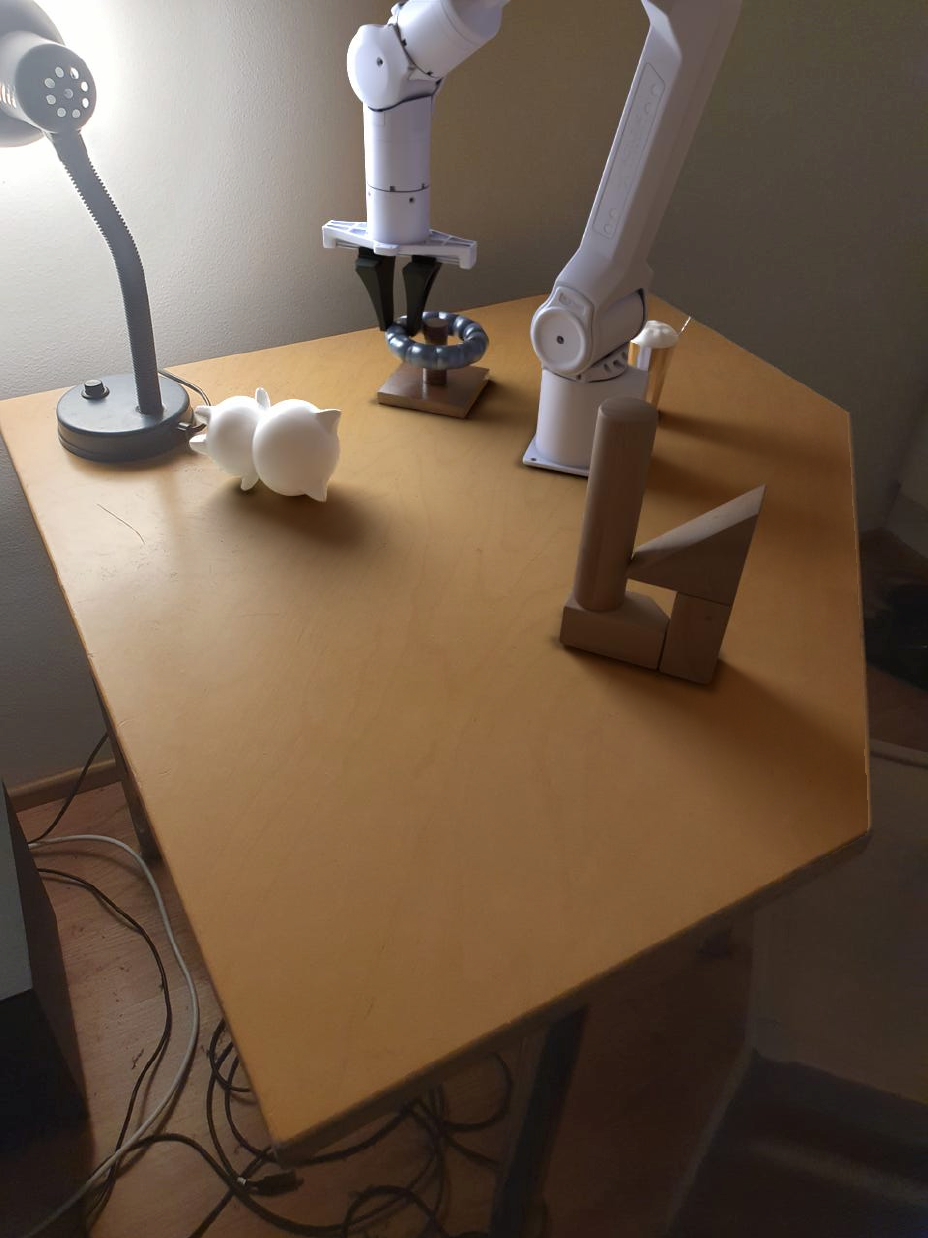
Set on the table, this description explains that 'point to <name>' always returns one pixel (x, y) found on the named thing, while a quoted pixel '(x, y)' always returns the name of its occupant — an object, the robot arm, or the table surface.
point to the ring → (439, 355)
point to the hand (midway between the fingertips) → (400, 329)
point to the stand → (434, 381)
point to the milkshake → (654, 355)
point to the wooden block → (651, 559)
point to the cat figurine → (272, 443)
